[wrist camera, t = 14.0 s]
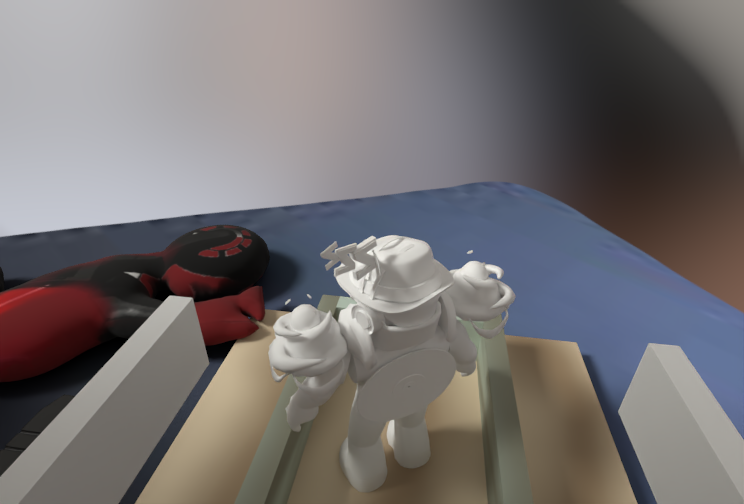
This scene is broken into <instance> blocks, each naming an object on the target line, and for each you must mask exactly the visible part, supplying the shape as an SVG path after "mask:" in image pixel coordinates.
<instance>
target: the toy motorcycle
mask: <svg viewBox="0 0 744 504" xmlns="http://www.w3.org/2000/svg"><path fill="white" fill-rule="evenodd" d="M269 259H270V256H269V250H268V247H267V244H266V243H265V241H264V240H263V239H262V238H261V237H260V236H258V235H257V234H256V233H254V232H252V231H250V230H248V229H246V228H243V227H239V226H233V225H214V226H208V227H203V228H199V229H196V230H193V231H191V232H189V233H186V234H184V235H183V236H181V237H179V238H178V239H176V240H175V241H173V242H172V243H171V244H170V245H169V246H168V247H167V248H166V249H165V250H164V251H162V252H156V253H149V254H125V255H114V256H109V257H105V258H102V259H99V260H96V261H92V262H87V263H83V264H78V265H74V266H70V267H67V268H64V269H61V270H58V271H55V272H51V273H48V274H45V275H42V276H40V277H37V278H35V279H32V280H30V281H28V282H26V283H24V284H21V285H18V286H16V287H13V288H10V289H8V290H5V291H4V277H3V272H2V269H1V267H0V382H11V381H18V380H22V379H27V378H31V377H34V376H37V375H40V374H43V373H46V372H48V371H50V370H52V369H55V368H57V367H59V366H60V365H62V364H64V363H66V362H68V361H69V360H71V359H73V358H74V357H76V356H78V355H80V354H81V353H83V352H85V351H87V350H89V349H91V348H93V347H95V346H97V345H99V344H102V343H104V342H107V341H109V340H111V339H114V338H116V337H121V338H126V339H129V338H130V337H131V336H132V335H133V334H134V333H135V332H136V331H137V330H138V329H139V328H140V327H141V325H142V324H143V323H144V322H145V321H146V320H147V319H148V318H149V317H150V316H151V315H152V314H153V313H154V312H155V310H156V309H157V308H158V307H159V306H160V305H161V304H162V303H163V301H160V300H157V299H154V298H155V296H156V294H157V293H159V292H160V291H162V290H170V291H172V292H173V293H174V294H175V295H177V296H180V297H190V298H193V301H202V302H195V303H194V305H195V308H196V312H197V316H198V320H199V324H200V328H201V332H202V336H203V340H204V344H205V346H210V345H216V344H220V343H224V342H227V341H230V340H235V339H242V338H245V337H247V336H250V335H251V334H253V333H254V332H256V331H257V330H258V329H259V327H258V326H257V325H256V324H255V323H253V322H252V321H251V320H250V319H249V318H248V317H252V318H254V319H256V320H258V321H262V320H263V319H264V317H265V306H264V298H263V290H262V286H261V287H259V286H255V287H251V286H253V285H254V284H255V283H256V282H257V281H258V280H259V279H260V278H261V277H262V275H263V274H264V272H265V270H266V268H267V265H268V263H269ZM250 287H251V288H250ZM248 288H249V289H248ZM243 291H244V292H243ZM241 292H242V293H241ZM239 293H241V294H239ZM236 294H239V295H236Z"/></svg>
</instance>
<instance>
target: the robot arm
mask: <svg viewBox="0 0 744 504" xmlns="http://www.w3.org/2000/svg"><path fill="white" fill-rule="evenodd" d="M208 365H209V360H208V356H207V352H206V348H205V344H204V340H203V336H202V332H201V328H200V324H199V320H198V316H197V312H196V308H195V305H194V301H193V298H190V297H180V296H170V295H169V297H168V298H167V299H166V300H165V301H164V302H163V303H162V304H161V305H160V306H159V307H158V308H157V309H156V310H155V312H154V313H153V314H152V315H151V316H150V317H149V318H148V319H147V320H146V321H145V322H144V323H143V324H142V325H141V327H140V328H139V329H138V330H137V331H136V332H135V333H134V334H133V335H132V336H131V337H130V338H129V339H128V340H127V342H126V343H125V344H124V345H123V346H122V347H121V348H120V349H119V350H118V351H117V352H116V353H115V354H114V355H113V357H112V358H111V359H110V360H109V361H108V362H107V363H106V364H105V365H104V366H103V367H102V368H101V369H100V370H99V372H98V373H97V374H96V375H95V376H94V377H93V378H92V379H91V380H90V381H89V382H88V383H87V384H86V385H85V387H84V388H83V389H82V390H81V391H80V392H79V393H78V394H77V395H76V396H70V395H63V396H61V397H60V398H58V399H57V400H55V401H54V402H52V403H51V404H49V405H48V406H46V407H45V408H43V409H42V410H40V411H39V412H38V413H37V414H36V415H35V416H34V417H33V418H32V419H31V420H30V421H29V422H28V423H27V424H26V425H25V426H24V427H23V428H22V429H21V433H20V434H17V435H16V436H15V437H14V438H13V439H12V440H11V441H10V442H9V443H8V444H7V445H6V447H5V449H4V450H1V451H0V504H119V502H120V500H121V499H122V497H123V496H124V494H125V493H126V491H127V490H128V488H129V487H130V485H131V483H132V482H133V480H134V479H135V477H136V476H137V474H138V473H139V471H140V470H141V468H142V466H143V465H144V463H145V462H146V460H147V459H148V457H149V456H150V454H151V453H152V451H153V449H154V448H155V446H156V445H157V443H158V442H159V440H160V439H161V437H162V436H163V434H164V433H165V431H166V429H167V428H168V426H169V425H170V423H171V422H172V420H173V419H174V417H175V416H176V414H177V412H178V411H179V409H180V408H181V406H182V405H183V403H184V402H185V400H186V399H187V397H188V395H189V394H190V392H191V391H192V389H193V388H194V386H195V385H196V383H197V382H198V380H199V378H200V377H201V375H202V374H203V372H204V371H205V369H206V368H207V366H208ZM618 413H619V415H620V417H621V420H622V422H623V424H624V427H625V429H626V431H627V434H628V436H629V438H630V441H631V443H632V445H633V448H634V450H635V453H636V455H637V457H638V460H639V462H640V464H641V467H642V469H643V471H644V474H645V476H646V478H647V481H648V483H649V485H650V488H651V490H652V492H653V495H654V497H655V499H656V502H657V504H744V440H743V438H742V437H741V435H740V434H739V432H738V431H737V429H736V428H735V427H734V425H733V424H732V422H731V421H730V419H729V418H728V416H727V415H726V413H725V412H724V411H723V409H722V408H721V406H720V405H719V403H718V402H717V400H716V399H715V397H714V396H713V394H712V393H711V392H710V390H709V389H708V387H707V386H706V384H705V383H704V381H703V380H702V378H701V377H700V376H699V374H698V373H697V371H696V370H695V368H694V367H693V365H692V364H691V362H690V361H689V360H688V358H687V357H686V355H685V354H684V352H683V351H682V349H681V348H680V346H673V345H663V344H653V343H649V344H648V346H647V348H646V351H645V353H644V355H643V357H642V359H641V362H640V364H639V366H638V368H637V371H636V373H635V375H634V377H633V379H632V382H631V384H630V386H629V388H628V391H627V393H626V395H625V397H624V399H623V402H622V404H621V406H620V408H619V410H618Z"/></svg>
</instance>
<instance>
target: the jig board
mask: <svg viewBox="0 0 744 504" xmlns="http://www.w3.org/2000/svg"><path fill="white" fill-rule="evenodd" d="M358 302H359V301H358ZM349 304H357V302H356V301H355V300H352V299H351V297H341V296H331V295H323V296H322V298H321V301H320V303H319V305H318V308H317V310H319V311H323V312H325V313H328V312H329V311H331V313H332V317H333V318H334V319H335V320H336V321H337V323H338V320H339V314H340V311H341V310H343V309H345V308H347V307H348V305H349ZM288 313H290V312H285V311H275V310H266V309H265V317H264V319H263V320H262V321H258V320H256V319H254V318H252V317H251V318H250V320H251V321H252V322H253V323H255V324H256V325H257V326H258V327H259V329H258V330H257V331H256V332H254V333H253V334H251V335H250V336H247V337H245V338H242V339H237V341H236V342H235V344H234V345H233V347H232V349H231V350H230V352H229V353H228V355H227V357H226V358H225V360H224V361H223V363H222V365H221V366H220V368H219V370H218V371H217V373H216V374H215V376H214V378H213V379H212V381H211V382H210V384H209V386H208V387H207V389H206V390H205V392H204V394H203V395H202V397H201V398H200V400H199V402H198V403H197V405H196V406H195V408H194V410H193V411H192V413H191V414H190V416H189V418H188V419H187V421H186V422H185V424H184V426H183V427H182V429H181V430H180V432H179V434H178V435H177V437H176V438H175V440H174V442H173V443H172V445H171V446H170V448H169V450H168V451H167V453H166V454H165V456H164V458H163V459H162V461H161V462H160V464H159V466H158V467H157V469H156V471H155V472H154V474H153V475H152V477H151V479H150V480H149V482H148V483H147V485H146V487H145V488H144V490H143V491H142V493H141V495H140V496H139V498H138V499H137V501H136V503H135V504H637V501H636V499H635V496H634V493H633V491H632V488H631V485H630V483H629V480H628V477H627V475H626V472H625V469H624V467H623V464H622V462H621V459H620V456H619V454H618V451H617V448H616V446H615V443H614V440H613V438H612V435H611V432H610V430H609V427H608V425H607V422H606V419H605V417H604V414H603V411H602V409H601V406H600V403H599V401H598V398H597V395H596V393H595V390H594V388H593V385H592V382H591V380H590V377H589V374H588V372H587V369H586V366H585V364H584V361H583V358H582V356H581V353H580V351H579V348H578V345H577V343H575V342H566V341H556V340H547V339H538V338H528V337H519V336H510V335H505V334H504V328H503V329H502V330H501V331H500V333H499V334H498V335H496V336H494V337H493V338H491V339H487V338H483V337H482V336H480V335H479V334H478V333H477V332H476V330H475V329H474V328H473V326H472V324H471V322H470V321H464V320H462V319H461V318H459V317H457V316H456V319H457V320H458V321H459V322H461V323H462V324H463V325H464V327H465V329H466V331H467V333H468V336H469V338H470V340H471V341H472V342H473V343H474V344H475V346H476V349H477V357H476V369H475V371H474V373H472V374H471V375H469V376H464V377H462V376H461V372H458V371H455V375H454V377H453V379H452V381H451V383H450V384H449V386H448V387H447V388H446V389H445V390H444V392H443V393H442V394H441V395H440V396H438V397H437V398H436V399H435V400H434V401H432V402H431V403H430V404H428V406H427V410H426V413H425V422H426V426H427V431H428V437H429V444H430V445H429V446H430V451H431V455H430V458H429V460H428V461H427V463H425V464H424V465H422V466H420V467H418V468H414V469H412V468H405V467H403V466H400V464H399V463H398V462H397V460H396V459H395V457H394V450H393V448H392V447H391V446H390V445H389V444H388V439H387V429H388V424H389V422H390V421H388V422H386V425H385V427H384V429H383V431H382V433H381V435H380V436H381V440H382V444H383V449H384V453H385V459H386V466H387V476H386V479H385V482H384V483H383V484H382V486H380V487H379V488H378V489H376V490H374V491H371V492H359V491H358V490H356V489H355V488H354V487H353V486H352V485H351V484H350V482H349V481H348V479H347V477H346V476H345V474H344V473H343V471H342V469H341V466H340V462H339V452H340V447H341V445H342V443H343V442H344V440H345V439H346V438H347V437H348V427H349V419H350V412H351V408H352V404H353V401H354V398H355V394H356V390H357V383H354V382H353V381H352V379H351V378H350V376H349V374H348V372H347V374H346V377H345V380H344V383H343V384H341V385H339V386H338V387H337V389H336V390H335V392H334V393H333V395H332V396H331V397H330V399H329V400H328V401H327V402H326V403H325V404H323V405H321V406H318V407H319V410H318V414H317V416H316V417H315V418H314V419H313V420H311V421H309V422H305V423H302V424H300V426H301V430H300V431H299V432H296V431H293V430H292V429H291V427H290V425H289V423H288V422H287V412H286V407H287V406H288V405H289V403H290V398H291V396H293V395H294V394H295V393H296V392H297V390H298V389H299V387H298V386H297V385H296V383H295V381H294V379H293V376H292V374H289V375H287V376H286V377H285V378H284V379H283V380H282V381H281V382H276V381H274V379H273V378H272V373H271V367H270V360H269V355H268V352H269V346H270V344H271V343H272V342H273V340H274V339H275V338H276V336H275V331H274V329H273V326H274V325H275V323H276V321H277V320H278V319H279V318H280V317H281V316H283V315H285V314H288ZM472 322H473V323H474V324H475V325H476V326H477V327H478V328H479V329H484V330H493V329H494V328H496V327H498V326H499V325H500V324H501V322H502V317H501V314H500V315H498V316H497V317H496V318H494V319H491V320H489V321H482V322H479V321H472ZM273 369H274V371H275V373H276V374H277V375H278V376H279V377H280V376H282V375H284V374H286V373H284V372H281V371H279V370H276V369H275V368H274V367H273ZM306 377H307V376H301V377H296V379H297V381H298V382H300V383H301V384H302V382H303V381H304V380H305V379H306Z"/></svg>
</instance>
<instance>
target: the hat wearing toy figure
mask: <svg viewBox="0 0 744 504" xmlns="http://www.w3.org/2000/svg"><path fill="white" fill-rule="evenodd" d="M337 247H338V245H337V243H336V242H334V243H333V244H332V245H331V246H329V247H328V248H327V249H326V250H324V251H323V252H322V253H321V254H320V255H321V257H322V258H324V259H330V260H331V261H330V262H329V263H328V264H327V265H325V267H326V270H328V269H330V268H331V267H332V266H333V265H334V264H336V263H337V262H338V261H341V262H342V264H341V265H340V266H339V267H337V268H335V269H334V276H335V277H336V279H337V282H338V284H339V285H340V286H341V287H342V288H343V289H344V290H345V291H346V292H347V293H348V294H349V295H350V297H351V299H352V300H355V301H356V302H357V304H349V305H348V307H347V308H345V309H343V310H341V311H340V314H339V320H338V323H337V321H336V320H335V319H334V318H333V317H332V313H331V311H329V312H328V313H325V312H323V311H319V310H317V309H316V308H314V307H313V306H311V305H300V306H298V307H297V308H295V309H294V310H293V311H292V312H290V313H288V314H285V315H283V316H281V317H280V318H279V319H278V320H277V321H276V323H275V325H274V326H273V329H274V331H275V336H276V338H275V339H274V340H273V342H272V343H271V344H270V346H269V352H268V355H269V360H270V367H271V373H272V378H273V379H274V381H276V382H281V381H282V380H283V379H284V378H285V377H286V376H287V375H289V374H292V376H293V379H294V381H295V383H296V385H297V386H298V387H299V389H298V390H297V392H296V393H295V394H294V395H293V396H291V398H290V403H289V405H288V406H287V407H286V412H287V422H288V423H289V425H290V427H291V429H292V430H293V431H296V432H299V431H300V430H301V426H300V424H302V423H305V422H309V421H311V420H313V419H314V418H315V417H316V416H317V414H318V410H319V407H318V406H321V405H323V404H325V403H326V402H327V401H328V400H329V399H330V397H331V396H332V395H333V393H334V392H335V390H336V389H337V387H338V386H339V385H341V384H343V383H344V380H345V377H346V374H347V372H348V374H349V376H350V378H351V379H352V381H353V382H354V383H357V390H356V394H355V398H354V401H353V404H352V408H351V412H350V419H349V427H348V437H347V438H346V439H345V440H344V442H343V443H342V445H341V447H340V452H339V462H340V466H341V469H342V471H343V473H344V474H345V476H346V477H347V479H348V481H349V482H350V484H351V485H352V486H353V487H354V488H355V489H356V490H358V491H359V492H371V491H374V490H376V489H378V488H379V487H380V486H382V484H383V483H384V482H385V479H386V476H387V466H386V459H385V453H384V449H383V444H382V440H381V436H380V435H381V433H382V431H383V429H384V427H385V425H386V422H388V421H390V422H389V424H388V429H387V439H388V444H389V445H390V446H391V447H392V448H393V450H394V457H395V459H396V460H397V462H398V463H399V464H400V466H403V467H405V468H412V469H414V468H418V467H420V466H422V465H424V464H425V463H427V461H428V460H429V458H430V455H431V451H430V446H429V445H430V444H429V437H428V431H427V426H426V422H425V413H426V410H427V406H428V404H430V403H431V402H432V401H434V400H435V399H436V398H437V397H438V396H440V395H441V394H442V393H443V392H444V390H445V389H446V388H447V387H448V386H449V384H450V383H451V381H452V379H453V377H454V375H455V371H458V372H461V376H462V377H464V376H469V375H471V374H472V373H474V371H475V369H476V357H477V349H476V346H475V344H474V343H473V342H472V341H471V340H470V338H469V336H468V333H467V331H466V329H465V327H464V325H463V324H462V323H461V322H459V321H458V320H457V319H456V316H457V317H459V318H461V319H462V320H464V321H470V322H471V324H472V326H473V328H474V329H475V330H476V332H477V333H478V334H479V335H480V336H482V337H483V338H487V339H491V338H493V337H494V336H496V335H498V334H499V333H500V331H501V330H502V329H503V327H504V326H505V324H506V321H507V319H508V311H507V309H508V308H509V305H510V304H512V303H513V302H514V299H515V294H514V293H513V291H512V290H511V288H510V287H509V286H507V285H506V284H504V283H502V282H501V281H499V280H496V279H493V278H489V277H488V275H490V274H491V273H496V274H497V277H498V279H501V277H502V276H503V274H504V272H503V270H502V269H501V268H499V267H498V266H494V265H486V264H485V262H484V263H480V262H477V261H470V262H468V263H467V264H466V265H464V266H463V267H462V268H461V269H459V270H451V271H448V270H447V269H446V268H445V267H444V266H443V265H442V264H441V263H439V262H438V261H436V260H435V259H433V254H432V250H431V248H430V246H429V245H428V244H427V243H426V242H424V241H421V240H417V239H413V238H408V237H401V236H396V235H390V236H385V237H382V238H379V239H377V240H376V237H374V236H371V237H369V238H368V239H366V240H365V239H364V241H363V242H362V243H360V244H359V245H357V243H353V244H350V245H347V246H344V247H341V248H338V249H335V248H337ZM334 249H335V253H332V251H333V250H334ZM472 252H473V250H471V251H469V252H468V253H469V254H470V253H472ZM347 254H349V255H350V257H349V256H348V255H347ZM307 295H308V294H307ZM308 297H309V298H311V296H310V295H308ZM290 300H291V299H289V300H288V301H287V302H286V303H285V305H286V304H287V303H288V302H289V301H290ZM358 301H359V302H358ZM504 311H505V312H506V316H505V318H504V320H503V321H502V322H501V324H500V325H499V326H498V327H496V328H494V329H493V330H484V329H479V328H478V327H477V326H476V325H475V324H474V323H473V322H472V321H479V322H482V321H489V320H491V319H494V318H496V317H497V316H498V315H500V314H501V313H502V312H504ZM273 367H274V368H275V369H276V370H279V371H281V372H284V373H286V374H284V375H282V376H280V377H279V376H278V375H277V374H276V373H275V371H274V369H273ZM301 376H307V377H306V379H305V380H304V381H303V382H302V384H301V383H300V382H298V381H297V379H296V377H301Z"/></svg>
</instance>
